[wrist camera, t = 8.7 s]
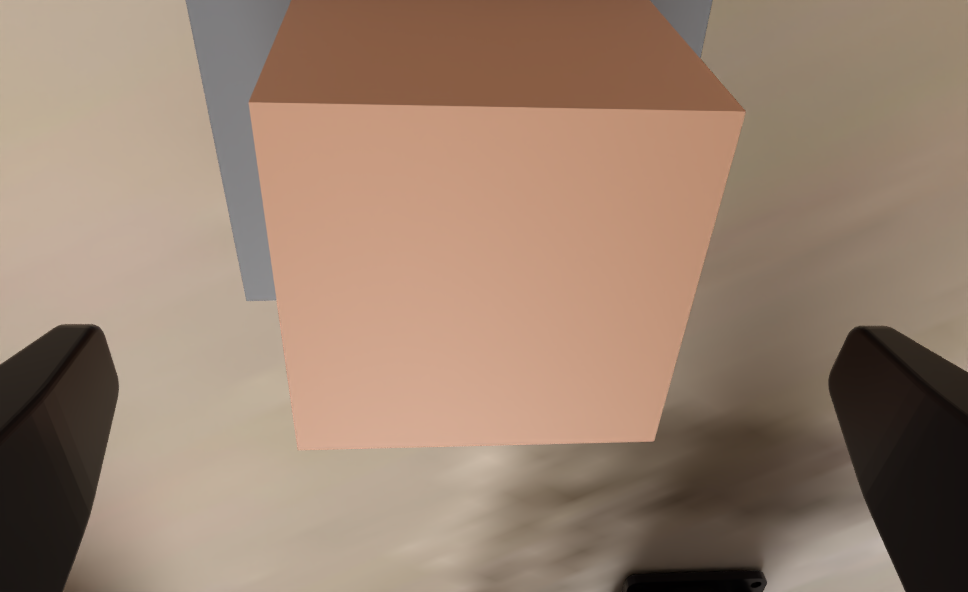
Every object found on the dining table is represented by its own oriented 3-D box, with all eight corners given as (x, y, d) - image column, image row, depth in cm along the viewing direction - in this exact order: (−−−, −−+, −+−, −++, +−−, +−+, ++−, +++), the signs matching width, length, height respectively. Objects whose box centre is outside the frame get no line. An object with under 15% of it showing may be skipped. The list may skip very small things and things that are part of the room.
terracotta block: (631, -21, 13) (745, 111, 9) (588, 247, 16) (653, 441, 12) (305, -33, 12) (248, 102, 8) (328, 247, 16) (297, 450, 11)
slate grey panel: (691, -191, 14) (748, -173, 12) (622, 222, 19) (651, 292, 17) (193, -207, 13) (147, -191, 11) (267, 227, 19) (246, 301, 16)
